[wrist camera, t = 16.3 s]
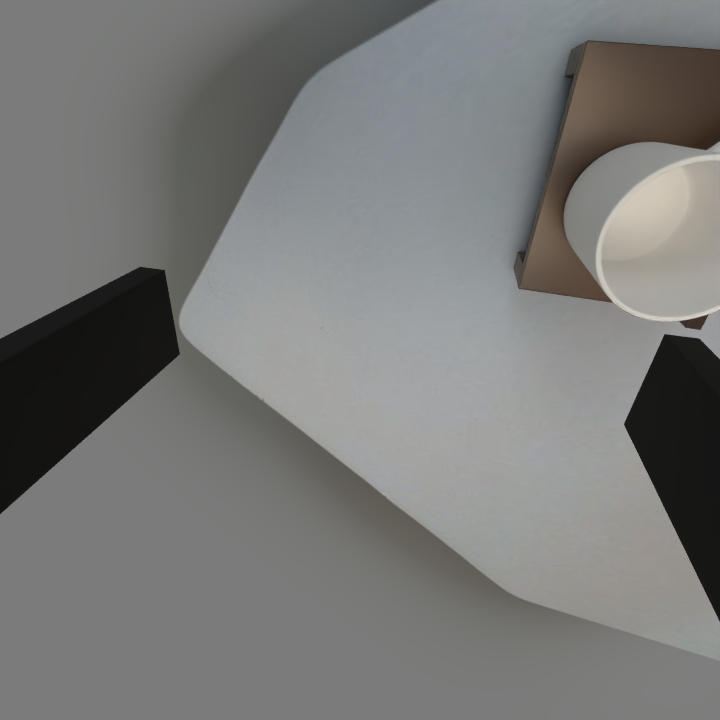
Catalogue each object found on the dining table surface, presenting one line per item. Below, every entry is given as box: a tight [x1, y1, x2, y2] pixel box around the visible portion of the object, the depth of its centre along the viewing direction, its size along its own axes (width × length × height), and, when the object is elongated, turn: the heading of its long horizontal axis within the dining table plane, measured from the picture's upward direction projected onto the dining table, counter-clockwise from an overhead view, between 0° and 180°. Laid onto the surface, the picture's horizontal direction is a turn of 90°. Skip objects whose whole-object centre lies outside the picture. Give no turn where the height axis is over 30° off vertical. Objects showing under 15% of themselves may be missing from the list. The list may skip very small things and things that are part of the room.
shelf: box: [514, 40, 720, 330], centre depth 31 cm, size 16×12×8 cm
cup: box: [564, 142, 720, 321], centre depth 26 cm, size 8×12×10 cm
